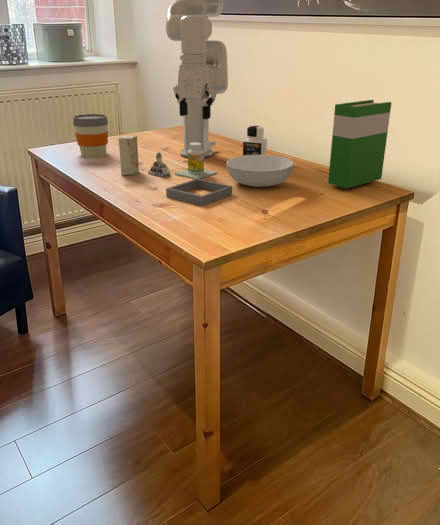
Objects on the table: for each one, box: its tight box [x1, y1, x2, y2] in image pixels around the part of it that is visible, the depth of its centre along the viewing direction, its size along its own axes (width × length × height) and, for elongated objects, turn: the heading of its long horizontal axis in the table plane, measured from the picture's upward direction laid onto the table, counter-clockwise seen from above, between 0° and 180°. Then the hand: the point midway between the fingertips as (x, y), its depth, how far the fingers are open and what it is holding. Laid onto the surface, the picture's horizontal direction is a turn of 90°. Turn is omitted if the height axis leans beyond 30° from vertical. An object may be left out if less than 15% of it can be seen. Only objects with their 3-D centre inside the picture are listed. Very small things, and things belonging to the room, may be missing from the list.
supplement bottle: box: [187, 143, 205, 174], centre depth 170 cm, size 5×5×10 cm
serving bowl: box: [225, 154, 295, 188], centre depth 161 cm, size 21×21×7 cm
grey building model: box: [148, 152, 171, 178], centre depth 172 cm, size 9×9×8 cm
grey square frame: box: [165, 178, 233, 207], centre depth 149 cm, size 14×14×2 cm
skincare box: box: [118, 134, 140, 176], centre depth 171 cm, size 6×4×12 cm
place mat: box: [174, 169, 218, 180], centre depth 172 cm, size 10×10×1 cm
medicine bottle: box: [242, 125, 268, 156], centre depth 190 cm, size 7×7×12 cm
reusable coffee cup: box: [72, 113, 109, 159], centre depth 192 cm, size 13×13×15 cm
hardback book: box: [327, 99, 392, 189], centre depth 160 cm, size 18×7×24 cm, turn 129°
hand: (194, 117), depth 165 cm, fingers open, 9 cm apart
